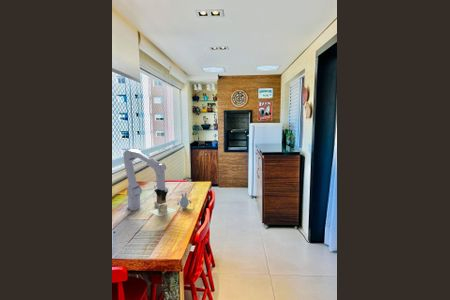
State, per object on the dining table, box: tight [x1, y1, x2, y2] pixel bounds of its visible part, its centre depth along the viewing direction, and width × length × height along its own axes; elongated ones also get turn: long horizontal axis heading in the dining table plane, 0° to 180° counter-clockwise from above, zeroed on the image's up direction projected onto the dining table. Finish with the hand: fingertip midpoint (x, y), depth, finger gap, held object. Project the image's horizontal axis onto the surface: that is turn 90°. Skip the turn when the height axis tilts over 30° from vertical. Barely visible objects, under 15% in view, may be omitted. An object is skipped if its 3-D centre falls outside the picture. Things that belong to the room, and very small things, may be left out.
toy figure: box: [176, 192, 193, 210], centre depth 171 cm, size 11×6×12 cm, turn 113°
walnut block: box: [156, 195, 167, 204], centre depth 166 cm, size 4×4×4 cm
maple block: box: [157, 203, 168, 213], centre depth 167 cm, size 4×4×4 cm
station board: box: [148, 206, 177, 217], centre depth 168 cm, size 14×14×1 cm
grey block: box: [154, 200, 163, 208], centre depth 178 cm, size 4×4×4 cm
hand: (161, 199), depth 166 cm, fingers closed on walnut block, 4 cm apart
